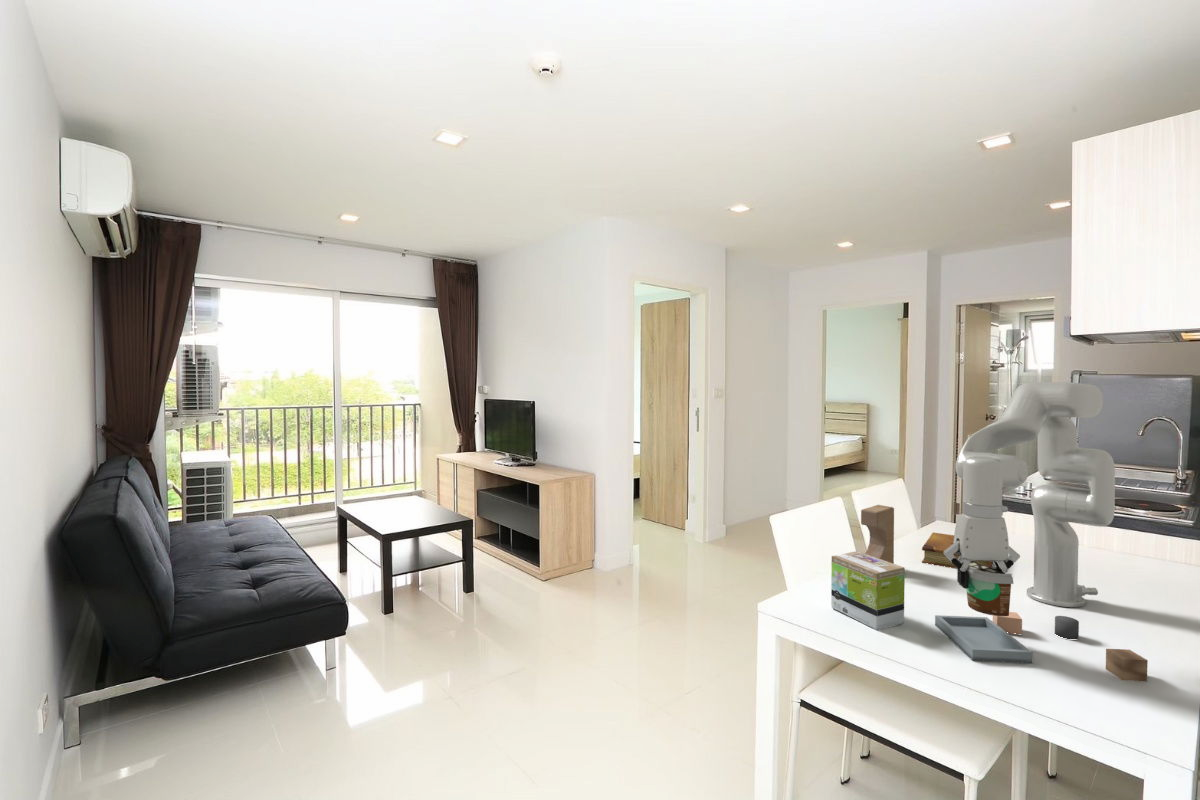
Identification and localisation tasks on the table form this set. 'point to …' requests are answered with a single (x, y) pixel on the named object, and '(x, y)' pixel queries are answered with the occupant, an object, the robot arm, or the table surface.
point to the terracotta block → (1009, 622)
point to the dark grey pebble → (1066, 627)
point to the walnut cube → (1126, 665)
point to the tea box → (868, 589)
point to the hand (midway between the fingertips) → (980, 586)
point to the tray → (983, 639)
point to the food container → (988, 590)
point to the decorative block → (880, 531)
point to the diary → (938, 546)
